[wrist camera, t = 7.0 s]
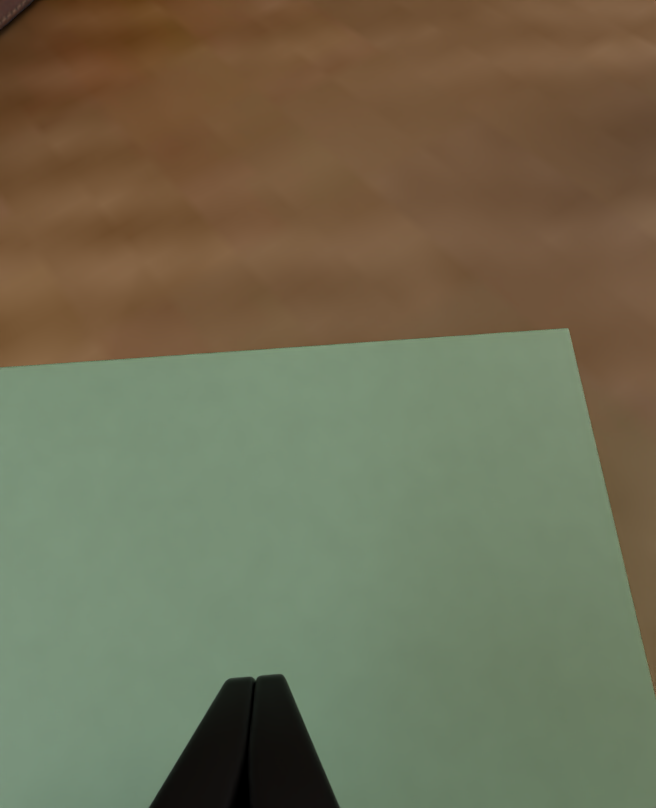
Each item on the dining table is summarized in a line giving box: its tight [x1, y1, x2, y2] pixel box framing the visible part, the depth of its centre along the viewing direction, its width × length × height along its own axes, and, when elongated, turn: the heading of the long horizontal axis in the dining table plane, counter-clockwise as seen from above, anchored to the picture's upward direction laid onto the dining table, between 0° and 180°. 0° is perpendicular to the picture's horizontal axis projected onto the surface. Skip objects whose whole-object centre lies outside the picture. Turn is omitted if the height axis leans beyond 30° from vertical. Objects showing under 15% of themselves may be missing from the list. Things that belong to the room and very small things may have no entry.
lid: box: [0, 328, 656, 808], centre depth 11 cm, size 14×14×1 cm
